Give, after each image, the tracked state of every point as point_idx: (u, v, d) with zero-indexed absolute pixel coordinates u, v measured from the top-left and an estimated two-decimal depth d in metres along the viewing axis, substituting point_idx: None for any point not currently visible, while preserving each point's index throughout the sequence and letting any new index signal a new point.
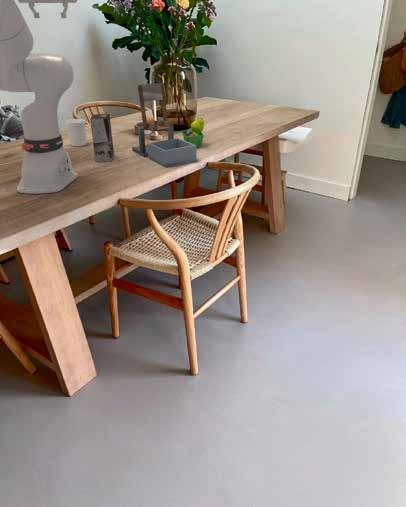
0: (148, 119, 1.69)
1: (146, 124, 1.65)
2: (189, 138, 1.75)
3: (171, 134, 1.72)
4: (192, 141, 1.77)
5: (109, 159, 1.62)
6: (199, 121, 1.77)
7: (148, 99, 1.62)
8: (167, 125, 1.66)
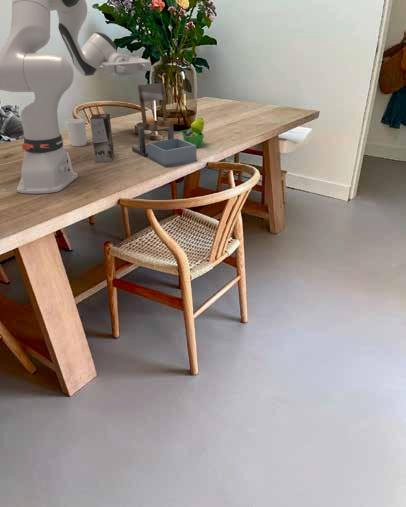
0: (148, 119, 1.69)
1: (146, 124, 1.65)
2: (189, 138, 1.75)
3: (171, 134, 1.72)
4: (192, 141, 1.77)
5: (109, 159, 1.62)
6: (199, 121, 1.77)
7: (148, 99, 1.62)
8: (167, 125, 1.66)
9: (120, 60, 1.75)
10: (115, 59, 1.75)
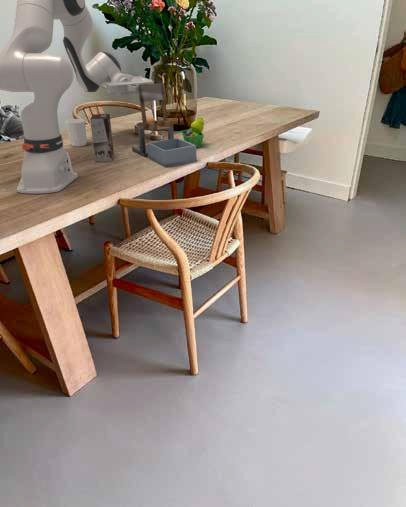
0: (148, 119, 1.69)
1: (146, 124, 1.65)
2: (189, 138, 1.75)
3: (171, 134, 1.72)
4: (192, 141, 1.77)
5: (109, 159, 1.62)
6: (199, 121, 1.77)
7: (148, 99, 1.62)
8: (167, 125, 1.66)
9: (123, 80, 1.77)
10: (118, 79, 1.78)
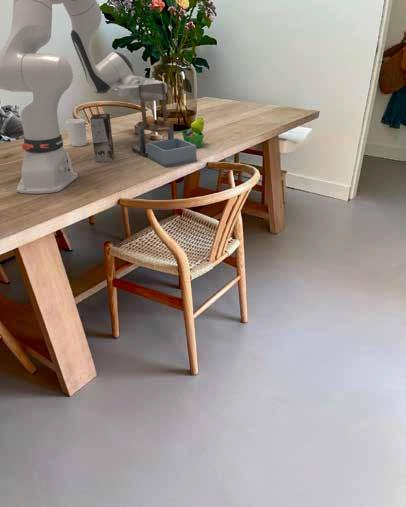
0: (148, 119, 1.69)
1: (146, 124, 1.65)
2: (189, 138, 1.75)
3: (171, 134, 1.72)
4: (192, 141, 1.77)
5: (109, 159, 1.62)
6: (199, 121, 1.77)
7: (149, 99, 1.62)
8: (167, 125, 1.66)
9: (135, 83, 1.69)
10: (130, 82, 1.69)
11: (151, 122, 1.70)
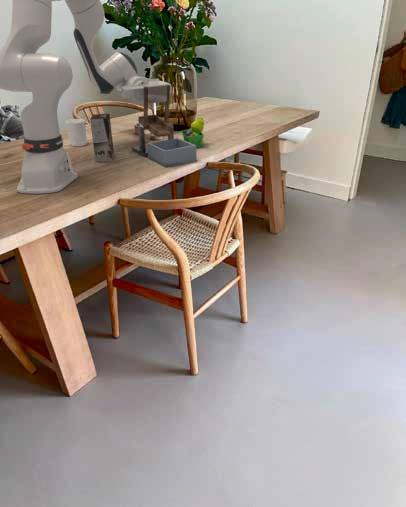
0: None
1: (146, 125, 1.64)
2: (189, 138, 1.75)
3: (171, 134, 1.72)
4: (192, 141, 1.77)
5: (109, 159, 1.62)
6: (199, 121, 1.77)
7: (152, 101, 1.60)
8: (167, 128, 1.66)
9: (139, 83, 1.66)
10: (134, 82, 1.67)
11: None
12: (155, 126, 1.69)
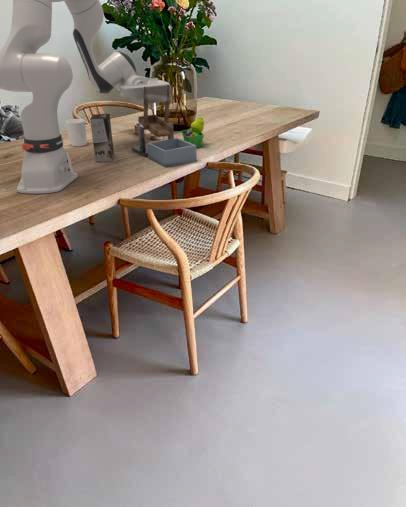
0: None
1: (146, 125, 1.64)
2: (189, 138, 1.75)
3: (171, 134, 1.72)
4: (192, 141, 1.77)
5: (109, 159, 1.62)
6: (199, 121, 1.77)
7: (152, 101, 1.60)
8: (167, 128, 1.66)
9: (138, 83, 1.67)
10: (133, 82, 1.68)
11: None
12: (155, 126, 1.69)
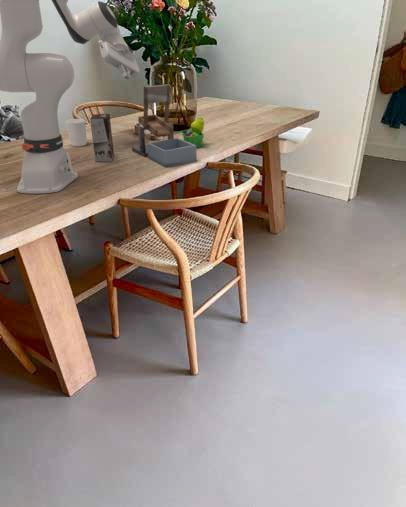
0: None
1: (146, 125, 1.64)
2: (189, 138, 1.75)
3: (171, 134, 1.72)
4: (192, 141, 1.77)
5: (109, 159, 1.62)
6: (199, 121, 1.77)
7: (152, 101, 1.60)
8: (167, 128, 1.66)
9: (120, 50, 1.68)
10: (117, 45, 1.67)
11: None
12: (155, 126, 1.69)
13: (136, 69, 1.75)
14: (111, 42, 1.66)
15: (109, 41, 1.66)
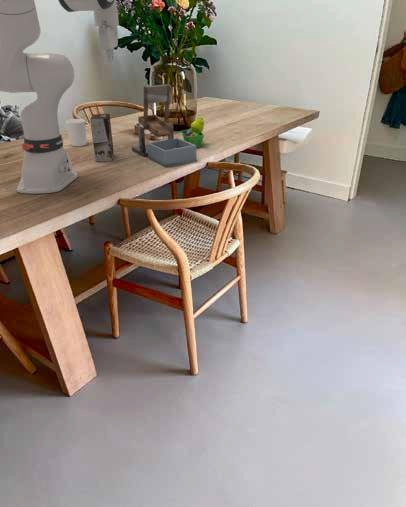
0: None
1: (146, 125, 1.64)
2: (189, 138, 1.75)
3: (171, 134, 1.72)
4: (192, 141, 1.77)
5: (109, 159, 1.62)
6: (199, 121, 1.77)
7: (152, 101, 1.60)
8: (167, 128, 1.66)
9: (113, 31, 1.60)
10: (112, 26, 1.57)
11: None
12: (155, 126, 1.69)
13: (116, 43, 1.70)
14: (108, 21, 1.56)
15: (106, 19, 1.55)
